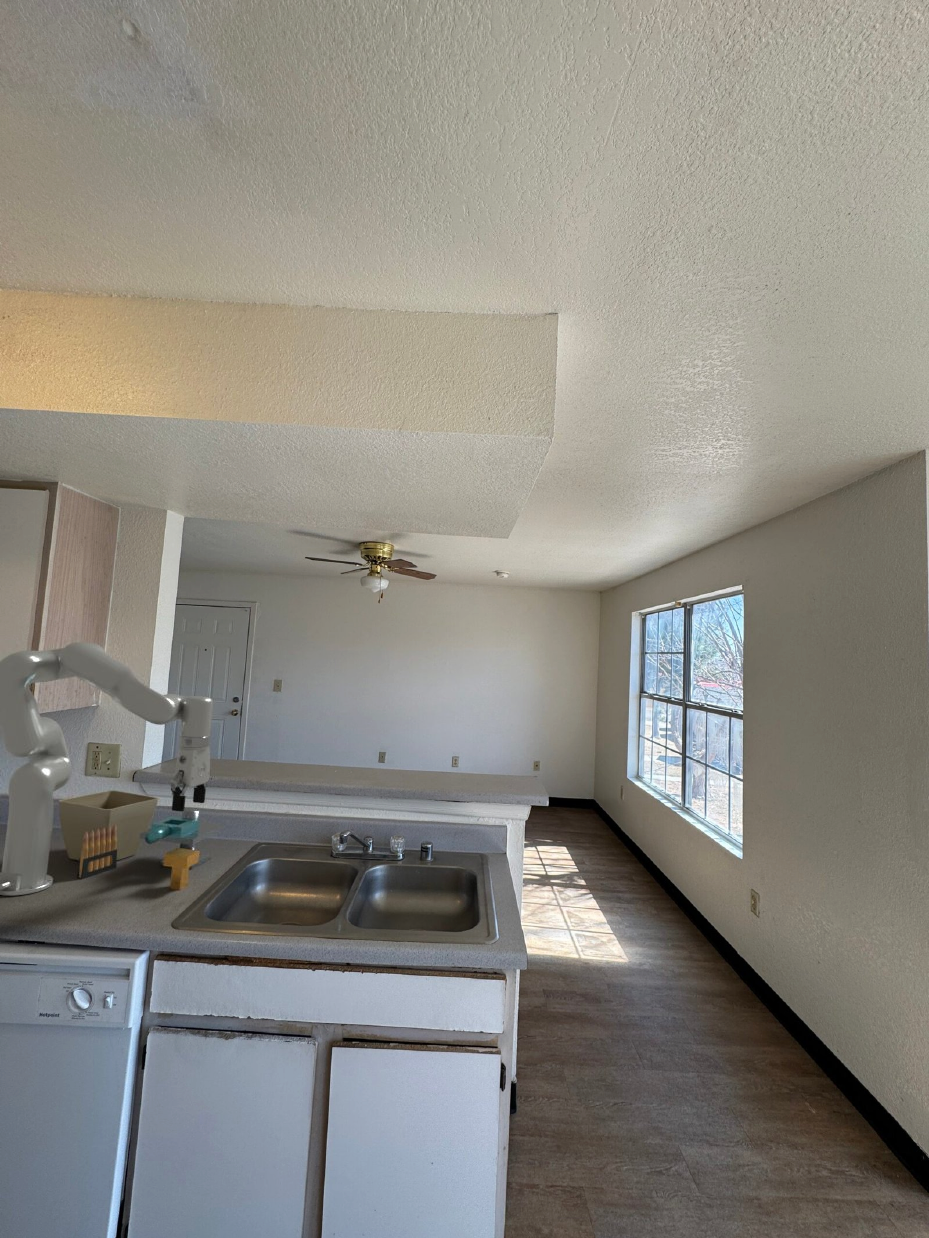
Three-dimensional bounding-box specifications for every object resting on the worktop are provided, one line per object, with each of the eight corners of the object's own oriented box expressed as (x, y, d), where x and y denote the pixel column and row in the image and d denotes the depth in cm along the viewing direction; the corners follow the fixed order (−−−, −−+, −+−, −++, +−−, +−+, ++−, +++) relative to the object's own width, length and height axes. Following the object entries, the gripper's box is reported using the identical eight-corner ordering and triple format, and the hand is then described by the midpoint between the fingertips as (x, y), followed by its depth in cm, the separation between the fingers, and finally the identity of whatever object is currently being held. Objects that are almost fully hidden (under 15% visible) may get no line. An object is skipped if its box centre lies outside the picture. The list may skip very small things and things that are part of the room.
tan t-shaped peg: (195, 884, 164) (199, 850, 165) (183, 892, 159) (187, 856, 159) (173, 881, 165) (177, 847, 166) (160, 889, 159) (164, 854, 160)
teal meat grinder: (172, 852, 188) (178, 803, 189) (221, 858, 186) (226, 808, 187) (117, 880, 163) (123, 823, 164) (172, 887, 161) (179, 829, 162)
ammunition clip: (81, 879, 162) (85, 832, 163) (76, 878, 163) (80, 831, 164) (116, 867, 172) (120, 823, 173) (111, 866, 173) (115, 823, 174)
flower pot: (106, 843, 192) (112, 788, 193) (154, 853, 186) (160, 797, 187) (49, 860, 174) (56, 800, 175) (100, 872, 168) (107, 809, 169)
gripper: (189, 747, 156) (183, 815, 154) (223, 739, 173) (218, 800, 172) (162, 745, 157) (155, 813, 155) (199, 737, 174) (193, 798, 172)
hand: (188, 806), depth 163 cm, fingers open, 9 cm apart
